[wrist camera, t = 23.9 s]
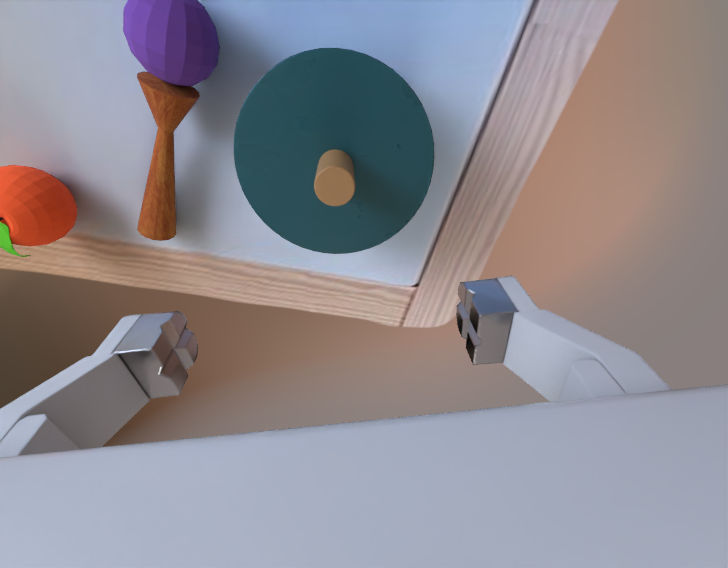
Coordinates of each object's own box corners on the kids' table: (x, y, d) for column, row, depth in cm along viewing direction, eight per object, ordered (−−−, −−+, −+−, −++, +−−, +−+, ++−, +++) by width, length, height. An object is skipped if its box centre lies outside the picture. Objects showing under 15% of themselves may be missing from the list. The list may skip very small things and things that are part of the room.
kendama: (104, 229, 32) (98, -47, 20) (148, 205, 36) (162, -28, 25) (167, 257, 32) (196, 5, 21) (202, 230, 37) (240, 14, 26)
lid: (209, 60, 21) (174, 64, 16) (433, 36, 21) (456, 33, 16) (265, 254, 28) (251, 291, 24) (429, 237, 28) (444, 272, 24)
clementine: (100, 241, 36) (53, 278, 31) (24, 226, 35) (-40, 263, 29) (87, 166, 32) (30, 193, 26) (0, 146, 31) (-80, 170, 25)
